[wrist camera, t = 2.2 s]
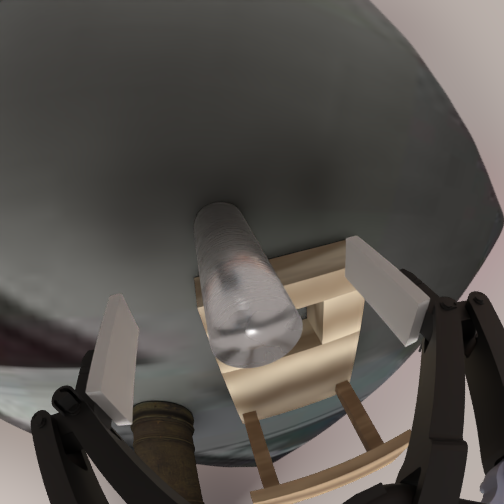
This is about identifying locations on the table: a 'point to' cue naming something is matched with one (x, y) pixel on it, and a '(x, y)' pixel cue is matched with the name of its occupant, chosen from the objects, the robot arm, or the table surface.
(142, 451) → the container
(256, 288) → the peg
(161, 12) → the table surface
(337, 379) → the socket station
